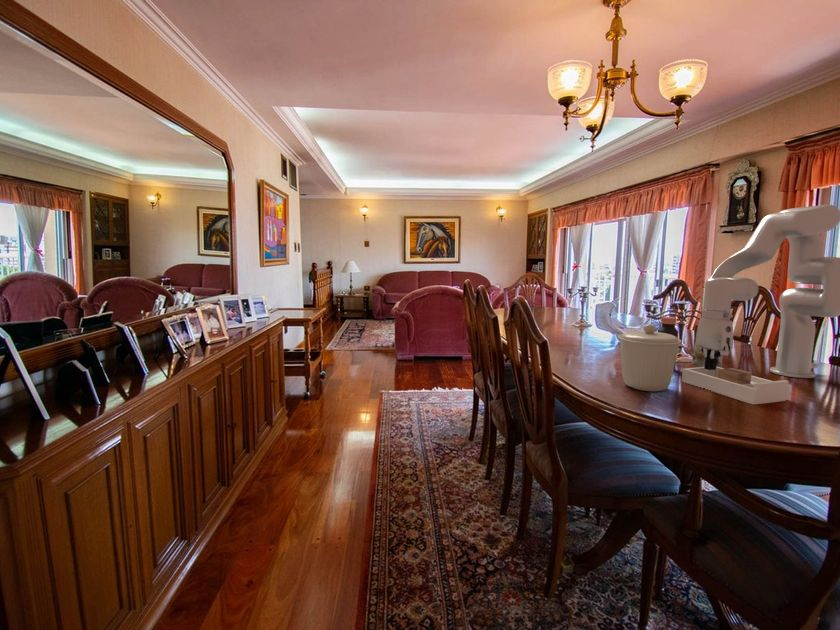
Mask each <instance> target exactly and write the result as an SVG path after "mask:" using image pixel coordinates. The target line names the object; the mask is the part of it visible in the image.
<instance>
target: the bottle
mask: <svg viewBox="0 0 840 630" xmlns="http://www.w3.org/2000/svg"><path fill="white" fill-rule="evenodd" d="M660 319H661V320H660V324H661V327H660V328H658V329H657V332H661V333H666V334H670V335H673V336H675V337H677V338H678V339H679V330H678V329H677V328H676V326H677V325H676V324H677V317H675V316H674V317H673V316H661V318H660ZM676 363H677V360H676V361H675V365H674V370H673V372H674V371H675V370H676V366H677V365H676Z"/></svg>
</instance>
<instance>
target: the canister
mask: <svg viewBox="0 0 840 630" xmlns="http://www.w3.org/2000/svg"><path fill="white" fill-rule="evenodd" d="M656 330H657V327H656V325H655V324H651V323H648V324H645V325H644V326H643V330H629V331H625V332H622V333H621V334H618V336H617V338H618V339H619V340H620V341H619V342H620V343H619V344H620V346H619V347H620V360H621V372H622V373H621V374H622V379H623V382H624V384H625V385H626V386H628V387H629V388H632V389H635V390H639V391H645V392H662V391H665V390H667V389H668V388H669V387H670V385H671V381H672V377H673V373H674V371H675V370H674V365H675V361H676V362H677V356H678V351H679V345H680V344H682V341H683V340H681V339H680V338H679V337H678V338H677V337H675V336H673V335H670V334H666V333H661V332H658V331H656ZM673 370H674V371H673Z"/></svg>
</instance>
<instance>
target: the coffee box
mask: <svg viewBox="0 0 840 630" xmlns="http://www.w3.org/2000/svg"><path fill="white" fill-rule="evenodd" d="M697 328H698V324H695V325H694V335H693V337H694V338H693V346H692V347H693V348H692V356H691V357H692V358H691V359H692V360H691V364H692V365H695V366H698V367H705V357H704V354H703V352H702V351H701V350H699V349H697V345H696V333H697ZM723 358H724V355H722V356H720V358H717V367H720V368H723Z"/></svg>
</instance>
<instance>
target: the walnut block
mask: <svg viewBox="0 0 840 630" xmlns="http://www.w3.org/2000/svg"><path fill="white" fill-rule="evenodd" d="M752 374H753V373H752V372H750V371H746V370H742V369H738V368H734V367H730V368H724V369H719V370H718V378H720V379H723V380H727V381H730V382H734V383H737V384H751V376H752Z"/></svg>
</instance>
